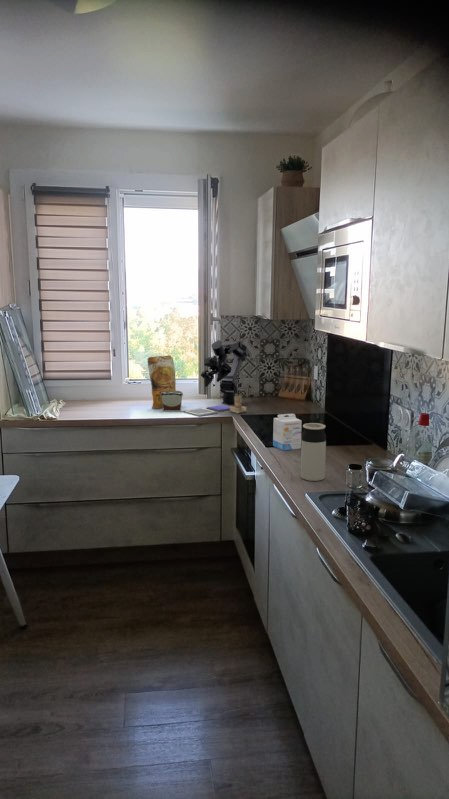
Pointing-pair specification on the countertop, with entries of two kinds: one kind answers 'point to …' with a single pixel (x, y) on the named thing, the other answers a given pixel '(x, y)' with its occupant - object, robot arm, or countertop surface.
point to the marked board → (200, 412)
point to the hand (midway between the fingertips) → (211, 384)
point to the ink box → (287, 432)
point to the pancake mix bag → (161, 377)
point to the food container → (171, 400)
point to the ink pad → (219, 408)
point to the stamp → (237, 406)
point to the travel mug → (313, 452)
